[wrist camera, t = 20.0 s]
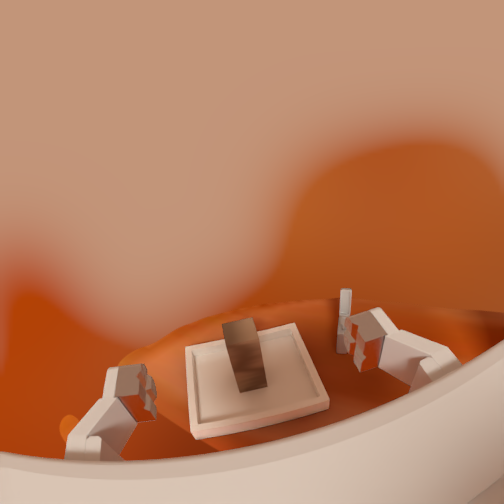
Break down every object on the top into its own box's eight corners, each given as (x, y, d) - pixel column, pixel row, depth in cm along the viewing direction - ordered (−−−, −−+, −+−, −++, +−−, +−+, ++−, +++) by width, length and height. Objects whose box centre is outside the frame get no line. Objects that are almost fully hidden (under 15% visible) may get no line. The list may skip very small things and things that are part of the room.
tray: (295, 333, 50) (294, 322, 49) (328, 408, 37) (329, 399, 35) (189, 356, 49) (185, 346, 47) (195, 439, 35) (190, 431, 34)
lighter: (346, 353, 44) (350, 315, 41) (335, 353, 45) (338, 315, 41) (349, 323, 50) (351, 285, 46) (339, 322, 51) (341, 285, 47)
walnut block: (261, 366, 44) (252, 317, 39) (267, 386, 41) (259, 338, 36) (235, 372, 44) (221, 324, 39) (239, 393, 40) (225, 345, 35)
